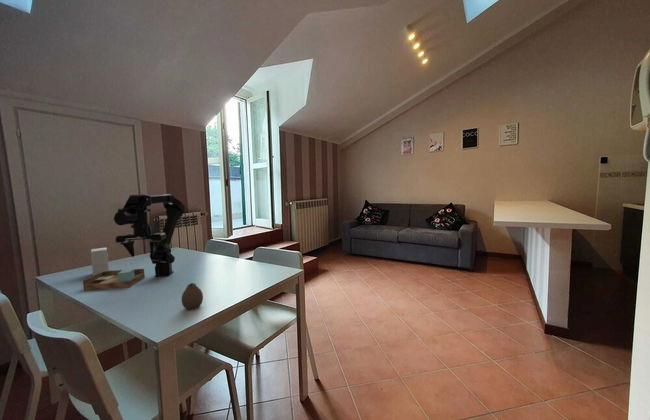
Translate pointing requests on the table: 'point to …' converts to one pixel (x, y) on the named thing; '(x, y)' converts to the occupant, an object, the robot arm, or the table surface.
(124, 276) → the block
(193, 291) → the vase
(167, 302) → the table surface
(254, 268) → the table surface
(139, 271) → the box
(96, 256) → the small box
